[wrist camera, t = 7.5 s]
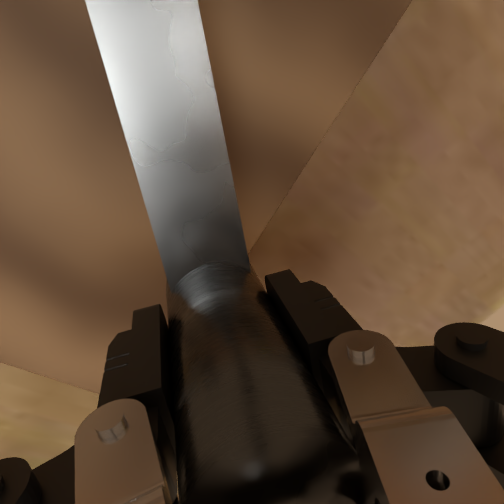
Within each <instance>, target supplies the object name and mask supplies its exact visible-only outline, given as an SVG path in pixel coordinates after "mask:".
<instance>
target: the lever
mask: <svg viewBox="0 0 504 504" xmlns="http://www.w3.org/2000/svg"><path fill="white" fill-rule="evenodd" d="M85 2H86V5H87V9H88V12H89V15H90V19H91V22H92V26H93V29H94V32H95V36H96V39H97V43H98V46H99V49H100V53H101V56H102V60H103V63H104V66H105V70H106V73H107V77H108V80H109V83H110V87H111V90H112V94H113V97H114V100H115V104H116V107H117V111H118V114H119V117H120V121H121V124H122V128H123V131H124V134H125V138H126V141H127V145H128V148H129V151H130V155H131V158H132V162H133V165H134V168H135V172H136V175H137V179H138V182H139V185H140V189H141V192H142V196H143V199H144V202H145V206H146V209H147V213H148V216H149V219H150V223H151V226H152V230H153V233H154V236H155V240H156V243H157V246H158V250H159V253H160V257H161V260H162V263H163V267H164V270H165V274H166V277H167V281H166V299H167V315H168V331H169V348H170V364H171V381H172V397H173V413H174V430H175V446H176V462H177V479H178V495H179V504H363V495H362V484H361V474H360V466H359V460H358V456H357V452H356V451H355V449H354V447H353V445H352V443H351V442H350V440H349V438H348V436H347V435H346V433H345V431H344V429H343V427H342V426H341V424H340V422H339V420H338V419H337V417H336V415H335V413H334V412H333V410H332V408H331V406H330V404H329V403H328V401H327V399H326V397H325V396H324V394H323V392H322V390H321V388H320V387H319V385H318V383H317V381H316V380H315V378H314V376H313V374H312V373H311V371H310V369H309V367H308V365H307V364H306V362H305V360H304V358H303V357H302V355H301V353H300V351H299V349H298V348H297V346H296V344H295V342H294V341H293V339H292V337H291V335H290V334H289V332H288V330H287V328H286V326H285V325H284V323H283V321H282V319H281V318H280V316H279V314H278V312H277V310H276V309H275V307H274V305H273V303H272V302H271V300H270V298H269V296H268V295H267V293H266V291H265V289H264V287H263V286H262V284H261V282H260V280H259V279H258V277H257V275H256V273H255V271H254V270H253V268H252V266H251V264H250V263H249V258H248V253H247V248H246V243H245V238H244V233H243V228H242V223H241V218H240V213H239V208H238V203H237V198H236V193H235V187H234V182H233V177H232V172H231V167H230V162H229V157H228V152H227V147H226V142H225V137H224V132H223V127H222V122H221V116H220V111H219V106H218V101H217V96H216V91H215V86H214V81H213V76H212V71H211V66H210V61H209V56H208V51H207V45H206V40H205V35H204V30H203V25H202V20H201V15H200V10H199V5H198V0H85Z"/></svg>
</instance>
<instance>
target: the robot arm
mask: <svg viewBox="0 0 504 504" xmlns="http://www.w3.org/2000/svg"><path fill="white" fill-rule="evenodd" d="M265 284H266V290H267V295H268V296H269V298H270V300H271V302H272V303H273V305H274V307H275V309H276V310H277V312H278V314H279V316H280V318H281V319H282V321H283V323H284V325H285V326H286V328H287V330H288V332H289V334H290V335H291V337H292V339H293V341H294V342H295V344H296V346H297V348H298V349H299V351H300V353H301V355H302V357H303V358H304V360H305V362H306V364H307V365H308V367H309V369H310V371H311V373H312V374H313V376H314V378H315V380H316V381H317V383H318V385H319V387H320V388H321V390H322V392H323V394H324V396H325V397H326V399H327V401H328V403H329V404H330V406H331V408H332V410H333V412H334V413H335V415H336V417H337V419H338V420H339V422H340V424H341V426H342V427H343V429H344V431H345V433H346V435H347V436H348V438H349V440H350V442H351V443H352V445H353V447H354V449H355V451H356V452H357V456H358V460H359V466H360V474H361V484H362V495H363V504H504V332H502V331H499V330H496V329H493V328H490V327H488V326H484V325H481V324H476V323H454V324H450V325H446V326H444V327H442V328H441V329H439V330H438V331H437V332H436V334H435V337H434V346H420V347H395V346H394V345H393V343H392V342H391V341H390V340H389V339H388V338H387V337H385V336H384V335H382V334H380V333H377V332H374V331H368V330H363V329H362V328H361V327H360V326H359V324H358V323H357V322H356V321H355V320H354V319H353V318H352V317H351V315H350V314H349V313H348V312H347V311H346V310H345V309H344V308H343V306H342V305H340V303H339V302H338V301H337V300H336V298H334V297H333V295H332V294H331V293H330V292H329V291H328V289H327V288H326V287H325V286H323V285H320V284H318V283H316V282H313V281H308V282H304V283H300V282H299V280H298V279H297V278H296V277H295V275H294V274H293V273H292V271H291V270H290V269H288V270H285V271H281V272H277V273H273V274H270V275H266V276H265ZM0 504H179V496H178V494H177V462H176V446H175V430H174V413H173V397H172V381H171V364H170V348H169V331H168V325H167V322H166V319H165V315H164V312H163V309H162V307H161V305H160V304H156V305H153V306H149V307H145V308H141V309H138V310H134V311H133V318H132V329H131V330H127V331H123V332H120V333H118V334H117V335H116V336H115V338H114V339H113V340H112V342H111V343H110V345H109V346H108V351H107V356H106V362H105V367H104V373H103V379H102V384H101V390H100V395H99V401H98V407H97V409H96V410H95V411H93V412H92V413H91V414H90V415H88V416H87V417H86V418H85V420H84V421H83V422H82V423H81V425H80V426H79V428H78V430H77V432H76V435H75V445H73V446H72V447H71V448H69V449H68V450H66V451H65V452H63V453H62V454H60V455H58V456H56V457H55V458H53V459H51V460H49V461H47V462H46V463H44V464H42V465H40V466H38V467H37V468H35V469H33V470H32V469H31V467H30V466H29V464H28V462H27V461H25V460H24V459H22V458H17V457H12V458H5V459H1V460H0Z"/></svg>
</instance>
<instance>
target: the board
mask: <svg viewBox="0 0 504 504" xmlns="http://www.w3.org/2000/svg"><path fill="white" fill-rule="evenodd" d="M411 1H412V0H198V5H199V10H200V15H201V20H202V25H203V30H204V35H205V40H206V45H207V51H208V56H209V61H210V66H211V71H212V76H213V81H214V86H215V91H216V96H217V101H218V106H219V111H220V116H221V122H222V127H223V132H224V137H225V142H226V147H227V152H228V157H229V162H230V167H231V172H232V177H233V182H234V187H235V193H236V198H237V203H238V208H239V213H240V218H241V223H242V228H243V233H244V238H245V243H246V248H247V253H248V254H249V252H250V251H251V249H252V247H253V246H254V244H255V243H256V241H257V240H258V238H259V237H260V235H261V233H262V232H263V230H264V229H265V227H266V226H267V224H268V223H269V221H270V220H271V218H272V216H273V215H274V213H275V212H276V210H277V209H278V207H279V206H280V204H281V203H282V201H283V199H284V198H285V196H286V195H287V193H288V192H289V190H290V189H291V187H292V186H293V184H294V182H295V181H296V179H297V178H298V176H299V175H300V173H301V172H302V170H303V168H304V167H305V165H306V164H307V162H308V161H309V159H310V158H311V156H312V155H313V153H314V151H315V150H316V148H317V147H318V145H319V144H320V142H321V141H322V139H323V138H324V136H325V134H326V133H327V131H328V130H329V128H330V127H331V125H332V124H333V122H334V121H335V119H336V117H337V116H338V114H339V113H340V111H341V110H342V108H343V107H344V105H345V104H346V102H347V100H348V99H349V97H350V96H351V94H352V93H353V91H354V90H355V88H356V86H357V85H358V83H359V82H360V80H361V79H362V77H363V76H364V74H365V73H366V71H367V69H368V68H369V66H370V65H371V63H372V62H373V60H374V59H375V57H376V56H377V54H378V52H379V51H380V49H381V48H382V46H383V45H384V43H385V42H386V40H387V39H388V37H389V35H390V34H391V32H392V31H393V29H394V28H395V26H396V25H397V23H398V21H399V20H400V18H401V17H402V15H403V14H404V12H405V11H406V9H407V8H408V6H409V4H410V3H411ZM166 281H167V277H166V274H165V270H164V267H163V263H162V260H161V257H160V253H159V250H158V246H157V243H156V240H155V236H154V233H153V230H152V226H151V223H150V219H149V216H148V213H147V209H146V206H145V202H144V199H143V196H142V192H141V189H140V185H139V182H138V179H137V175H136V172H135V168H134V165H133V162H132V158H131V155H130V151H129V148H128V145H127V141H126V138H125V134H124V131H123V128H122V124H121V121H120V117H119V114H118V111H117V107H116V104H115V100H114V97H113V94H112V90H111V87H110V83H109V80H108V77H107V73H106V70H105V66H104V63H103V60H102V56H101V53H100V49H99V46H98V43H97V39H96V36H95V32H94V29H93V26H92V22H91V19H90V15H89V12H88V9H87V5H86V2H85V0H0V362H1V363H4V364H7V365H10V366H14V367H17V368H20V369H23V370H26V371H29V372H32V373H35V374H38V375H42V376H45V377H48V378H51V379H54V380H57V381H60V382H63V383H66V384H70V385H73V386H76V387H79V388H82V389H85V390H88V391H91V392H94V393H98V394H100V390H101V384H102V379H103V373H104V367H105V362H106V356H107V351H108V346H109V345H110V343H111V342H112V340H113V339H114V338H115V336H116V335H117V334H118V333H120V332H123V331H127V330H131V329H132V318H133V311H134V310H138V309H141V308H145V307H149V306H153V305H156V304H160V305H161V307H162V309H163V312H164V315H165V319H166V322H167V325H168V315H167V299H166Z"/></svg>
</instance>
